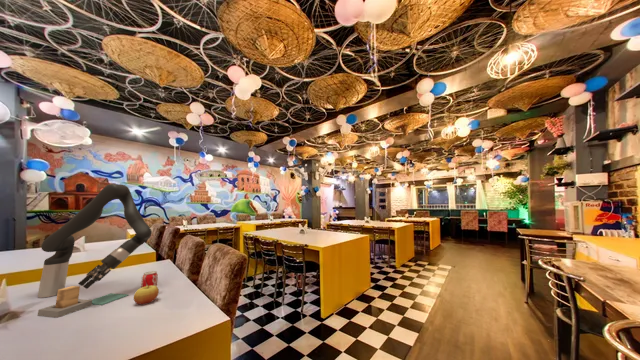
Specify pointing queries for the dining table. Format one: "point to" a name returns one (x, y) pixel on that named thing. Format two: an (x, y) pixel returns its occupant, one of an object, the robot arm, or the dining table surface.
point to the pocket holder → (64, 309)
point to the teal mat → (107, 298)
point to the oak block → (67, 297)
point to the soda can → (149, 279)
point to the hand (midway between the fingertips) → (82, 286)
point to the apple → (146, 294)
